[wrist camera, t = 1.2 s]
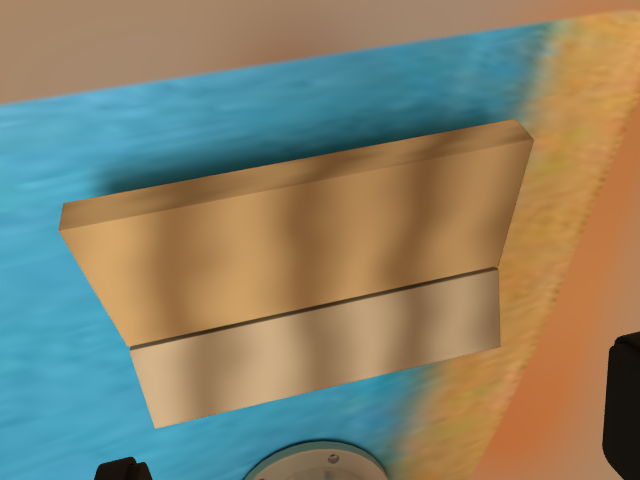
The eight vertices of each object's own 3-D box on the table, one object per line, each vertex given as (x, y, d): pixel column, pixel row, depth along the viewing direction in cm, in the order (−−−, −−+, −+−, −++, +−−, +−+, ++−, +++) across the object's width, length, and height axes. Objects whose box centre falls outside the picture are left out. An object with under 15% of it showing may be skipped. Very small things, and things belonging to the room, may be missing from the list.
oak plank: (515, 118, 28) (533, 139, 27) (485, 244, 36) (498, 265, 34) (63, 203, 26) (58, 230, 24) (129, 320, 33) (127, 346, 32)
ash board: (484, 258, 36) (498, 269, 34) (487, 332, 38) (500, 346, 37) (134, 334, 34) (129, 351, 32) (158, 409, 36) (155, 428, 34)
